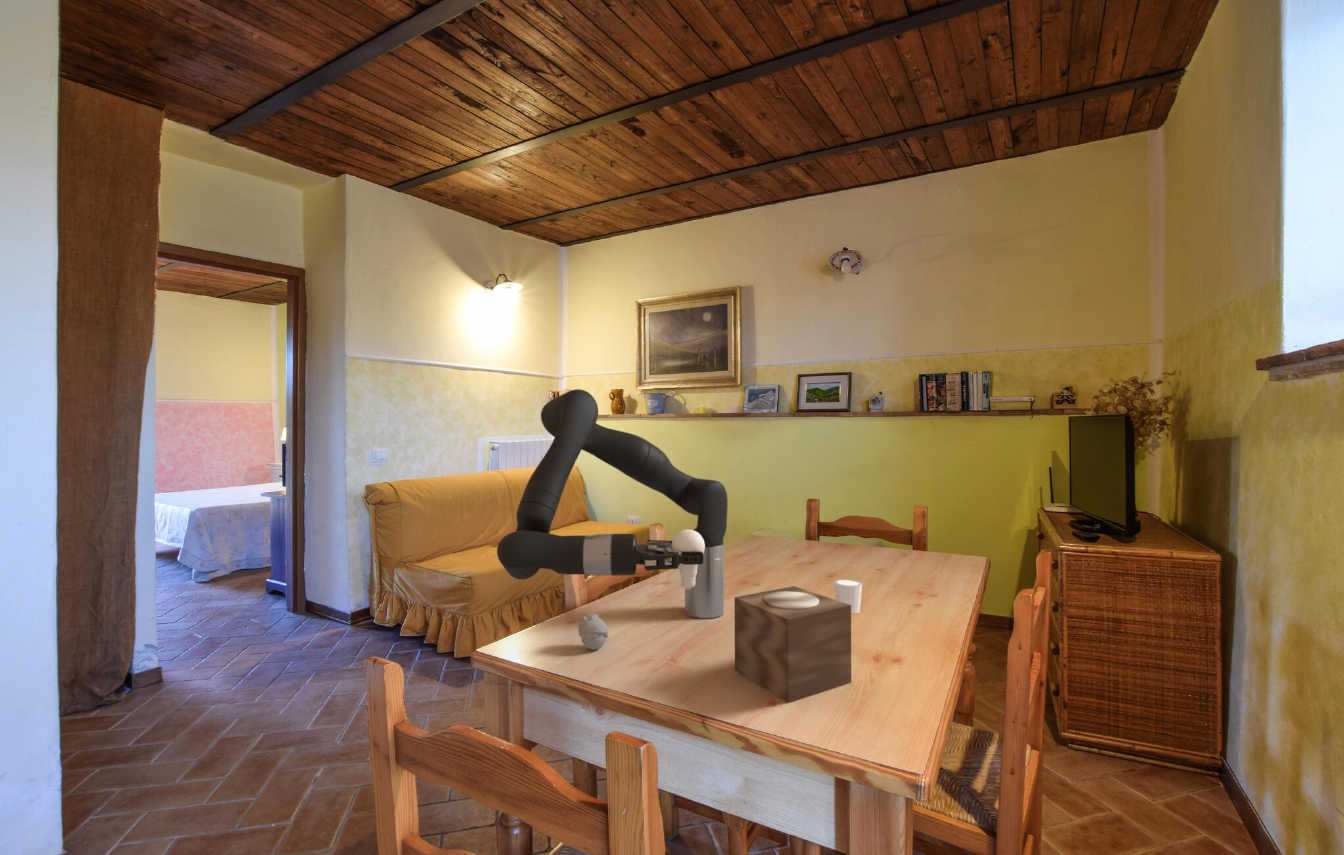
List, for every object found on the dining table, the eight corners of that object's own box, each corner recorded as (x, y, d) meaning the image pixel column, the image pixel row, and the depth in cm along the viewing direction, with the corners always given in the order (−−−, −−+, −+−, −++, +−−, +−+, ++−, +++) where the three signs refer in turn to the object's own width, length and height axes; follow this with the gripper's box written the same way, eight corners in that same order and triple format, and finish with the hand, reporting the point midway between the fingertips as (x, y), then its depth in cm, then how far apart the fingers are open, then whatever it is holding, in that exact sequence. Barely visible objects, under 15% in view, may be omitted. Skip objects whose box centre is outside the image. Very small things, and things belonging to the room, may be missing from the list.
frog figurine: (594, 640, 128) (594, 608, 127) (615, 649, 123) (615, 615, 123) (571, 648, 123) (571, 614, 123) (591, 657, 118) (591, 622, 118)
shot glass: (865, 608, 149) (865, 581, 149) (858, 616, 143) (858, 587, 143) (838, 604, 152) (838, 577, 152) (830, 611, 147) (830, 583, 147)
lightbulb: (702, 594, 104) (702, 533, 104) (668, 593, 105) (668, 532, 105) (707, 585, 110) (706, 527, 110) (675, 583, 111) (675, 526, 111)
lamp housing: (734, 670, 111) (734, 595, 111) (795, 654, 119) (795, 583, 119) (788, 702, 98) (788, 617, 98) (852, 681, 106) (852, 602, 106)
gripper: (606, 542, 100) (704, 541, 101) (613, 526, 115) (699, 526, 115) (606, 585, 100) (704, 585, 101) (613, 565, 115) (699, 564, 115)
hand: (701, 553), depth 108 cm, fingers closed on lightbulb, 5 cm apart
